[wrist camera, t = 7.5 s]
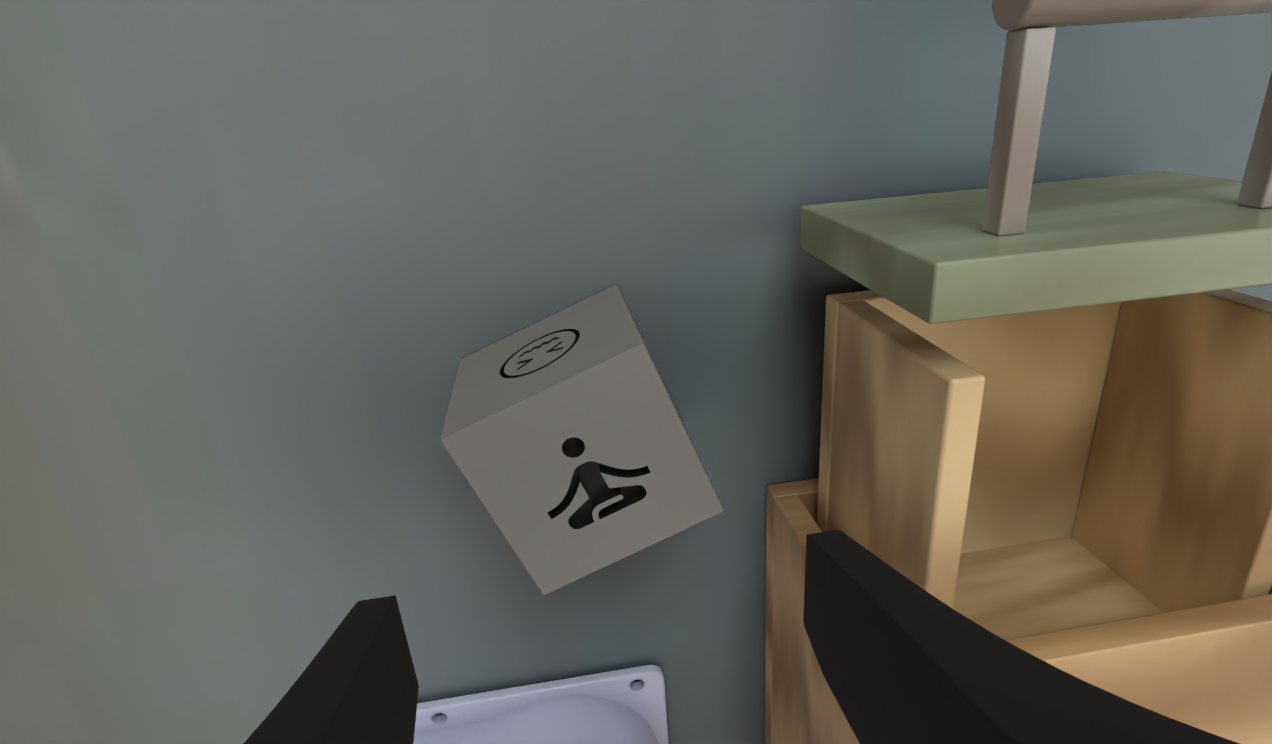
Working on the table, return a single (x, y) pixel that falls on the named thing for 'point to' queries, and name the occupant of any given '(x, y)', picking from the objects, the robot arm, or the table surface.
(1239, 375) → the drawer
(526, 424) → the dice cube
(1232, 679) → the tan wooden box
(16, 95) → the table surface
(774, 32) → the table surface
